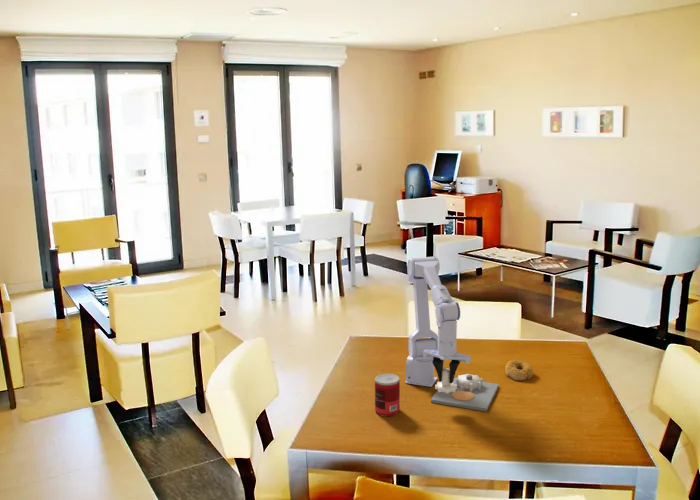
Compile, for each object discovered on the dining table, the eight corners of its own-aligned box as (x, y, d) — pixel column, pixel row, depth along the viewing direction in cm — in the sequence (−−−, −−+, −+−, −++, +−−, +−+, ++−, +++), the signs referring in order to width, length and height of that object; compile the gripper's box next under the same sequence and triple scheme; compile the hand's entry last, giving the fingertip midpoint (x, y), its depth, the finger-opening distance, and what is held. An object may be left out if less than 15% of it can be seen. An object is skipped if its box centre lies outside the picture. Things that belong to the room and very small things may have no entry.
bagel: (502, 379, 226) (503, 366, 225) (506, 368, 236) (507, 356, 235) (531, 383, 222) (532, 370, 221) (534, 372, 233) (535, 359, 232)
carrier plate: (430, 402, 209) (431, 389, 208) (446, 379, 227) (447, 367, 226) (486, 411, 202) (487, 398, 201) (498, 386, 220) (498, 374, 219)
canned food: (402, 407, 206) (402, 374, 203) (395, 418, 198) (395, 384, 196) (379, 404, 208) (379, 371, 206) (371, 414, 201) (371, 381, 198)
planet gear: (432, 391, 201) (433, 372, 200) (438, 383, 207) (439, 364, 205) (453, 394, 198) (453, 375, 197) (458, 386, 204) (459, 367, 203)
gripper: (420, 341, 198) (420, 382, 201) (467, 347, 193) (466, 389, 196) (427, 334, 205) (426, 374, 208) (472, 339, 199) (471, 381, 202)
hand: (446, 381), depth 202 cm, fingers closed on planet gear, 3 cm apart
